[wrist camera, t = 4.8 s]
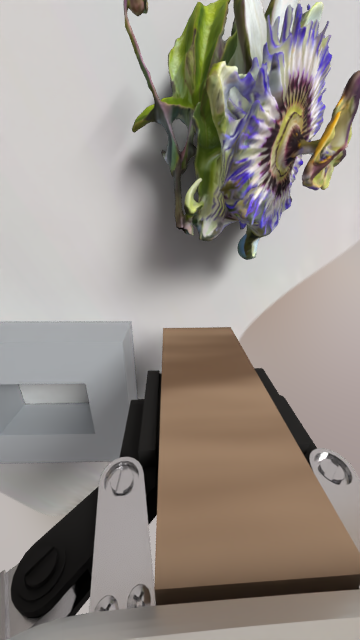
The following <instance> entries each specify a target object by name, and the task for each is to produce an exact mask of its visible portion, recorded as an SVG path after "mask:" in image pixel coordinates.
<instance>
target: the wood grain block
mask: <svg viewBox="0 0 360 640" xmlns="http://www.w3.org/2000/svg"><path fill="white" fill-rule="evenodd" d="M359 586H360V553H359V551H358V549H357V547H356V546H355V544H354V542H353V540H352V539H351V537H350V535H349V533H348V532H347V530H346V528H345V526H344V525H343V523H342V521H341V519H340V518H339V516H338V514H337V512H336V511H335V509H334V507H333V505H332V504H331V502H330V500H329V498H328V497H327V495H326V493H325V491H324V490H323V488H322V486H321V484H320V483H319V481H318V479H317V478H316V476H315V474H314V472H313V471H312V469H311V467H310V465H309V464H308V462H307V460H306V458H305V457H304V455H303V453H302V451H301V450H300V448H299V446H298V444H297V443H296V441H295V439H294V437H293V436H292V434H291V432H290V430H289V429H288V427H287V425H286V423H285V422H284V420H283V418H282V416H281V415H280V413H279V411H278V409H277V408H276V406H275V404H274V402H273V401H272V399H271V397H270V395H269V394H268V392H267V390H266V388H265V387H264V385H263V383H262V381H261V380H260V378H259V376H258V374H257V373H256V371H255V369H254V367H253V366H252V364H251V363H250V361H249V359H248V357H247V355H246V353H245V352H244V350H243V348H242V346H241V345H240V343H239V341H238V339H237V338H236V336H235V334H234V332H233V331H232V329H231V327H220V328H163V351H162V381H161V410H160V440H159V469H158V499H157V529H156V558H155V587H154V591H155V601H156V606H159V605H171V604H183V603H194V602H206V601H218V600H230V599H242V598H254V597H267V596H279V595H292V594H305V593H317V592H330V591H344V590H356V589H357V588H358V587H359Z"/></svg>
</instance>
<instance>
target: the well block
mask: <svg viewBox="0 0 360 640" xmlns="http://www.w3.org/2000/svg"><path fill="white" fill-rule="evenodd" d="M18 384H86V389H87V394H88V399H89V403H66V404H25V402H24V400H23V397H22V394H21V391H20V388H19V385H18ZM137 399H138V397H137V385H136V372H135V360H134V348H133V336H132V323H131V322H0V464H11V463H57V462H103V461H114V460H115V459H118V458H119V457H120V452H121V447H122V442H123V437H124V432H125V427H126V422H127V417H128V412H129V406H130V402H131V400H137Z"/></svg>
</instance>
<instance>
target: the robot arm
mask: <svg viewBox="0 0 360 640" xmlns="http://www.w3.org/2000/svg"><path fill="white" fill-rule="evenodd" d="M254 369H255V368H254ZM255 371H256V373H257V374H258V376H259V378H260V380H261V381H262V383H263V385H264V387H265V388H266V390H267V392H268V394H269V395H270V397H271V399H272V401H273V402H274V404H275V406H276V408H277V409H278V411H279V413H280V415H281V416H282V418H283V420H284V422H285V423H286V425H287V427H288V429H289V430H290V432H291V434H292V436H293V437H294V439H295V441H296V443H297V444H298V446H299V448H300V450H301V451H302V453H303V455H304V457H305V458H306V460H307V462H308V464H309V465H310V467H311V469H312V471H313V472H314V474H315V476H316V478H317V479H318V481H319V483H320V484H321V486H322V488H323V490H324V491H325V493H326V495H327V497H328V498H329V500H330V502H331V504H332V505H333V507H334V509H335V511H336V512H337V514H338V516H339V518H340V519H341V521H342V523H343V525H344V526H345V528H346V530H347V532H348V533H349V535H350V537H351V539H352V540H353V542H354V544H355V546H356V547H357V549H358V551H359V553H360V479H359V477H358V476H357V474H356V472H355V470H354V469H353V468H352V466H351V465H350V464H349V463H348V462H347V461H346V460H345V459H344V458H343V457H341V456H340V455H339V454H337V453H335V452H333V451H331V450H327V449H323V448H318V449H317V447H316V446H315V444H314V443H313V441H312V440H311V438H310V437H309V435H308V433H307V432H306V430H305V429H304V428H303V426H302V424H301V423H300V421H299V420H298V418H297V417H296V415H295V413H294V412H293V410H292V409H291V407H290V406H289V404H288V402H287V401H286V399H285V398H284V397H283V396H281V395H279V394H278V392H277V390H276V389H275V387H274V386H273V384H272V382H271V381H270V379H269V378H268V376H267V375H266V373H265V371H264V370H263V369H262V368H256V369H255ZM161 381H162V374H160V373H159V371H148V375H147V383H146V392H145V399H137V400H131V402H130V406H129V412H128V417H127V422H126V427H125V432H124V437H123V442H122V447H121V452H120V457H119V458H118V459H115V460H114V461H112V462H111V463H109V464H108V466H107V467H106V468H105V469H104V471H103V473H102V474H101V477H100V481H99V487H97V488H96V489H95V490H94V491H93V492H92V493H91V494H90V495H88V496H87V497H86V498H85V499H84V500H83V501H82V502H81V503H80V504H78V505H77V506H76V507H75V508H74V509H73V510H72V511H71V512H69V513H68V514H67V515H66V516H65V517H64V518H63V519H62V520H61V521H59V522H58V523H57V524H56V525H55V526H54V527H53V528H52V529H50V530H49V531H48V532H47V533H46V534H45V535H44V536H43V537H42V538H40V539H39V540H38V541H37V542H36V543H35V544H34V545H33V546H32V547H31V548H30V549H29V550H28V551H27V552H26V553H25V555H24V556H23V558H22V560H21V561H20V563H19V564H18V565H16V566H15V567H13V568H12V569H10V570H9V571H8V572H5V570H4V571H2V572H1V573H0V640H360V586H359V587H358V588H357V589H356V590H344V591H330V592H317V593H305V594H292V595H279V596H267V597H254V598H242V599H230V600H218V601H206V602H194V603H183V604H171V605H159V606H156V601H155V591H154V579H153V570H152V559H151V547H150V537H149V526H148V525H149V524H150V522H151V521H152V520H153V519H154V518H155V516H156V515H157V499H158V469H159V440H160V410H161ZM89 597H90V606H89V613H86V614H81V615H76V613H77V612H78V611H79V610H80V608H81V607H82V606H83V605H84V604H85V602H86V601H87V600H88V599H89Z"/></svg>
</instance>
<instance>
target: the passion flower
mask: <svg viewBox="0 0 360 640" xmlns="http://www.w3.org/2000/svg"><path fill="white" fill-rule="evenodd" d="M229 2H230V0H218V1H216V2H214V3H210V4H209V5H208V6H204V5H203V4H202V3H201V2H198V3H197V5H196V6H195V8H194V11H193V13H192V14H191V16H190V18H189V20H188V22H187V25H186V27H185V29H184V31H183V34H182V36H181V37H180V38H177V39H176V41H175V45H174V47H173V49H171V51H170V52H169V55H168V67H169V74H170V79H171V87H172V92H173V95H172V97H167V98H163V99H161V100H160V99H159V97H158V95H157V93H156V90H155V87H154V85H153V83H152V80H151V76H150V73H149V71H148V69H147V68H146V66H145V64H144V62H143V59H142V56H141V53H140V50H139V47H138V44H137V41H136V39H135V36H134V34H133V31H132V29H131V26H130V24H129V21H128V17H127V10H128V8H129V9H130V10H131V11H132V12H133V13H134V14H135V15H137V16H139V15H141V14H142V13H145V14H146V13H147V11H148V3H147V0H124V15H125V27H126V30H127V32H128V34H129V37H130V39H131V42H132V45H133V48H134V51H135V54H136V56H137V59H138V61H139V64H140V67H141V69H142V71H143V74H144V76H145V78H146V80H147V83H148V87H149V89H150V90H151V91H152V94H153V97H154V101H155V103H154V104H153V105H151V106H149V107H147V108H146V109H145V110H144V111H143V112H142V113H141V114H140V115H139V116H138V117H137V119H136V120H135V122H134V125H133V128H132V131H133V132H134V133H135V132H136V131H137V130H138V129H140V128H142V127H143V126H145V125H146V124H147V123H150V122H157V123H159V124H162V125H163V127H164V128H165V130H166V132H167V134H168V145H167V150H166V152H164V151H163V150H162V152H161V153H162V155H163V156H164V159H165V160H166V162H167V163H168V165H169V167H170V171H171V174H172V177H174V190H175V205H176V207H175V219H176V227H177V228H178V229H182V230H183V231H184V232H185V233H186V234H191V235H193V236H194V233H193V230H194V229H193V226H192V225H195V226H196V227H197V229H198V231H199V239H200V240H203V241H211V240H213V239H215V238H216V237H217V236H218V235H219V234H221V232H222V231H223V229H224V228H225V227H226V226H227V225H228V224H230V223H233V222H238V221H239V222H240V229H244V227H245V226H246V225H247V231H246V234H245V235H244V236H243V237H242V238H241V240H240V241H239V243H238V253H239V255H240V256H241V257H242V258H244V259H246V260H248V259H252V258H255V257H256V250H257V244H258V241H259V238H261V237H263V236H267V235H269V234H270V233H271V232H272V230H274V228H275V227H276V226H277V225H278V222H279V220H280V217H281V214H282V212H283V211H284V210H286V209H288V208H289V207H290V206H291V202H292V199H291V196H290V187H291V185H292V182H294V180H295V175H296V174H297V172H298V168H299V167H300V166H301V165H302V164H303V161H302V159H301V157H302V154H311V155H312V156H311V158H310V160H309V162H308V163H307V165H306V167H305V169H304V172H303V175H302V180H303V182H302V183H303V186H306V187H308V188H310V189H313V190H318V189H319V188H320V187H321V189H322V190H325V189H326V188H327V187H328V186H329V181H330V179H331V175H332V172H333V170H334V167H335V166H337V165H338V164H339V163H340V162H341V161H342V159H343V158H344V157H345V156H346V150H345V148H347V147H348V143H349V141H350V139H351V135H352V132H351V129H352V128H351V125H352V121H353V119H354V116H355V114H356V112H357V109H358V105H359V99H360V71H357V72H356V73H354V74H353V75H352V76H351V78H350V79H349V81H348V83H347V84H346V86H345V88H344V91H343V94H342V96H341V99H340V100H339V102H338V104H337V105H336V107H335V109H334V110H333V114H332V118H331V121H330V122H329V124H328V125H327V127H326V130H325V132H324V133H323V135H322V137H321V139H320V140H316V141H311V138H312V137H313V136H315V134H316V133H317V132H318V130H319V129H320V127H321V124H322V123H323V113H324V110H325V105H324V104H323V103H322V101H321V97H322V94H323V93H324V92H325V91H326V88H325V89H324V91H323V92H322V93H320V92H321V90H322V89H323V87H324V85H325V78H326V76H327V74H328V72H329V71H330V69H331V65H330V61H331V58H332V55H331V54H330V53H329V51H328V48H329V47H328V42H329V40H330V38H331V35H329V36H327V37H326V38H325V36H324V34H325V31H326V29H327V26H328V23H329V21H327V24H326V26H325V28H324V30H323V31H322V32H321V33H320V35H319V34H318V28H319V22H320V19H321V15H322V11H323V3H322V2H319V3H318V2H316V4H315V5H314V6H312V8H311V9H310V6H309V4H308V5H307V10H309V9H310V10H309V11H307V12H305V13H304V14H303V15H302V7H301V5H300V4H299V3H300V0H271V2H270V4H269V6H268V8H267V11H266V13H265V15H264V11H263V5H262V3H261V1H260V0H234V14H235V18H234V22H233V27H232V32H231V37H229V38H228V39H227V40H226V41H223V40H222V36H223V34H224V27H225V23H226V20H227V17H226V16H227V14H228V4H229ZM175 119H180V120H181V121H182V122H183V123H184V124H186V126H187V127H188V138H187V142H186V145H185V147H184V149H183V152H180V151H179V148H178V145H177V143H176V140H175V137H174V134H173V130H172V122H173V121H174V120H175ZM194 133H195V134H196V138H197V148H196V147H195V146H194V144H193V138H194ZM310 141H311V142H310ZM193 156H195V160H194V166H195V172H196V181H195V183H194V184H193V185H192V186H191V187H190V189H189V190H188V192H187V194H186V197H185V205H184V209H185V213H186V214H185V215H184V214H183V211H182V203H181V198H182V197H181V181H180V178H181V175H182V174H183V173H184V172H185V170H186V168H187V166H188V163H189V160H190V159H191V158H192V157H193ZM196 190H197V191H198V195H199V200H198V203H197V202H196V201H195V200H194V198H193V197H194V194H195V192H196Z"/></svg>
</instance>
